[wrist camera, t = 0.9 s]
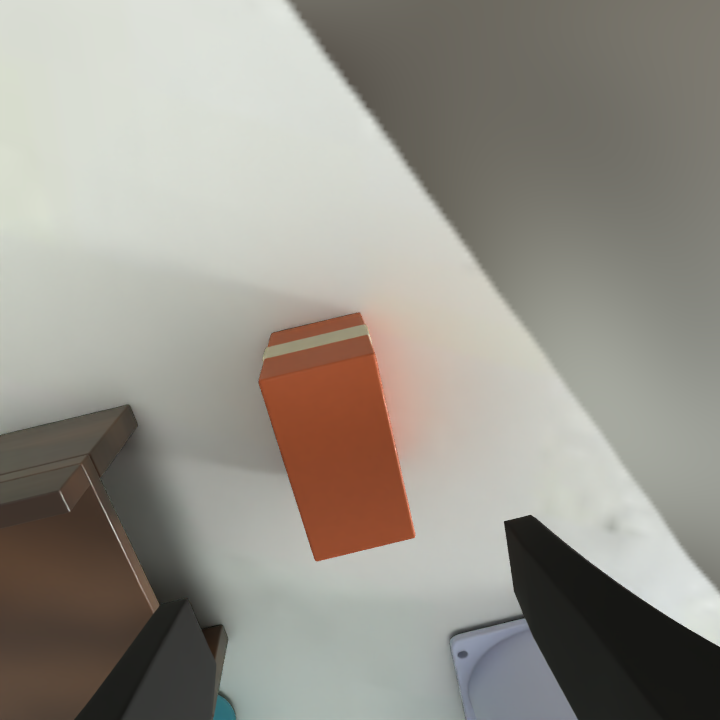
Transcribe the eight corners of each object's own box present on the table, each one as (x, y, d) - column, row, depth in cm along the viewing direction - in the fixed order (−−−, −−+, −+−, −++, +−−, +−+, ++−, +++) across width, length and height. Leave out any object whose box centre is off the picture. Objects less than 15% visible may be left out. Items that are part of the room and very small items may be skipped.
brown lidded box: (228, 638, 25) (203, 774, 19) (48, 682, 25) (-30, 831, 19) (129, 403, 20) (59, 490, 15) (-92, 456, 20) (-248, 563, 15)
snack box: (395, 463, 22) (418, 539, 18) (313, 482, 22) (314, 564, 18) (361, 310, 20) (376, 350, 15) (268, 332, 20) (255, 379, 15)
